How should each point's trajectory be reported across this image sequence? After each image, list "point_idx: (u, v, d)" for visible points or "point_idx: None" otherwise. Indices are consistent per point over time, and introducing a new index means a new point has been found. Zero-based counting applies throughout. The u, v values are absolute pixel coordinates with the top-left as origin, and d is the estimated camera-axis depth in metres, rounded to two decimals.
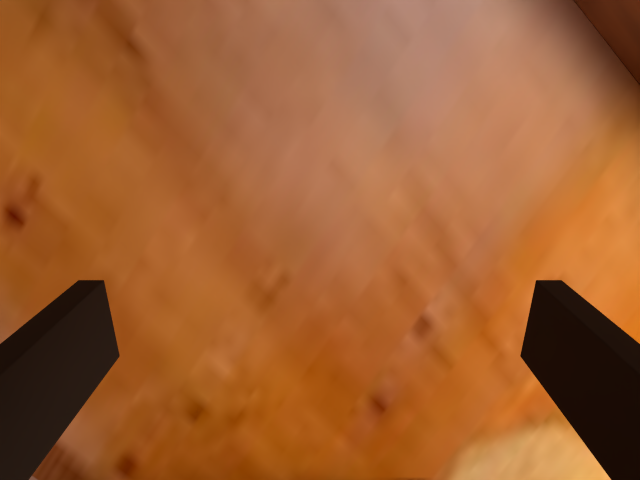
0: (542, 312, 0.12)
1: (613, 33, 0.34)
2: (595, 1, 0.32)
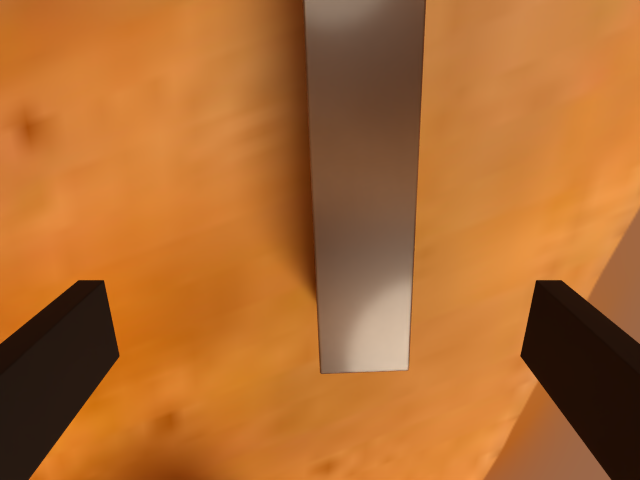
0: (542, 312, 0.12)
1: None
2: None
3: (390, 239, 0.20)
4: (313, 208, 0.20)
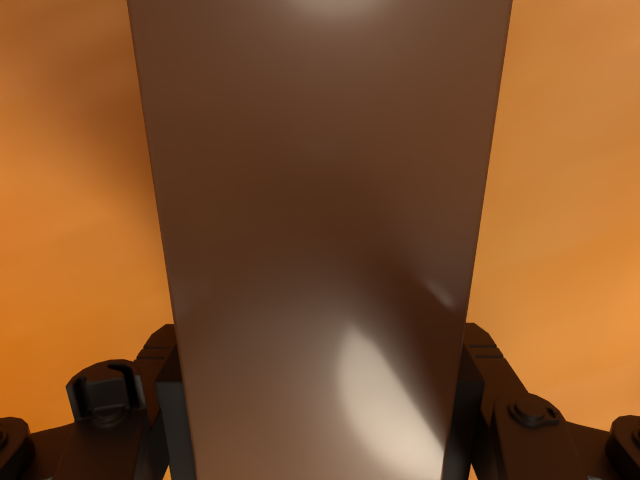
0: None
1: None
2: None
3: (395, 311, 0.07)
4: (159, 212, 0.06)
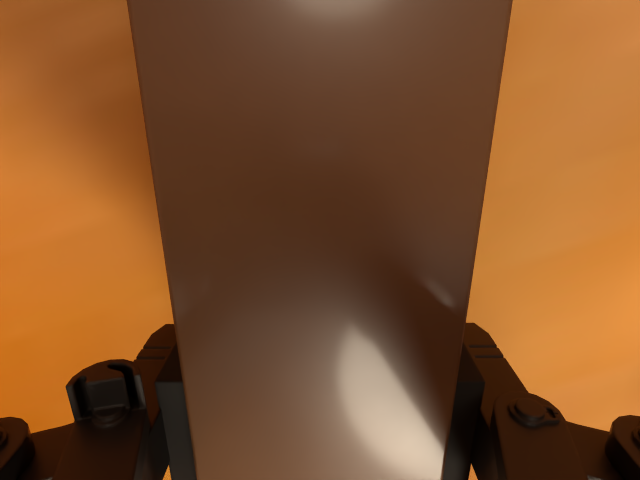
0: None
1: None
2: None
3: (394, 311, 0.07)
4: (159, 212, 0.06)
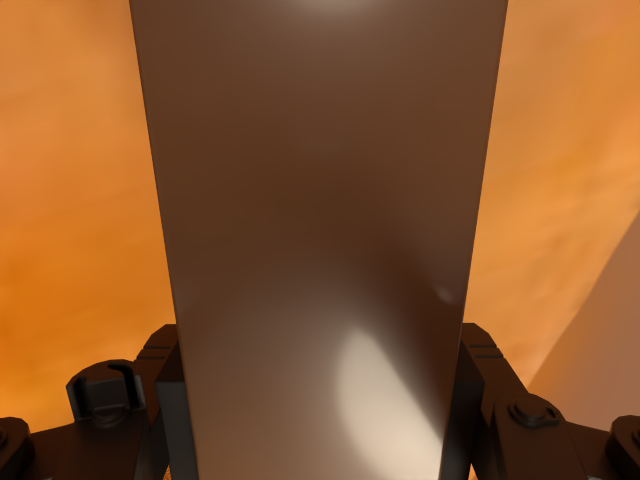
0: None
1: None
2: None
3: (393, 310, 0.07)
4: (161, 212, 0.06)
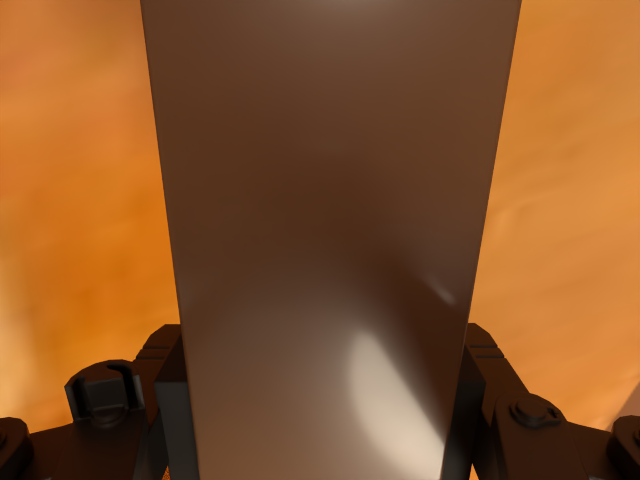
0: None
1: None
2: None
3: (398, 312, 0.07)
4: (168, 210, 0.06)
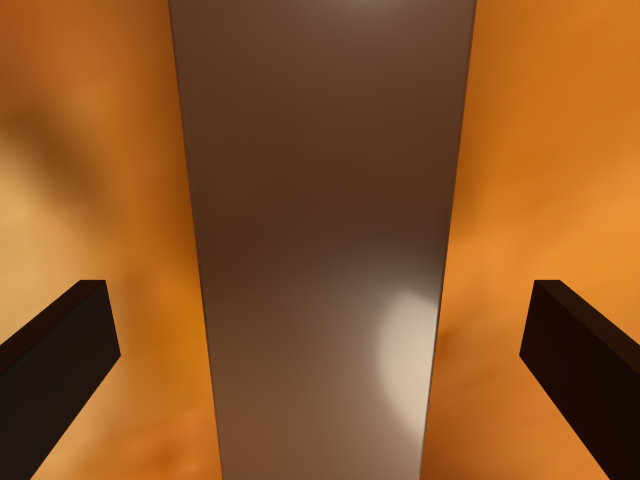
0: (540, 312, 0.12)
1: None
2: None
3: (385, 248, 0.08)
4: (187, 159, 0.07)
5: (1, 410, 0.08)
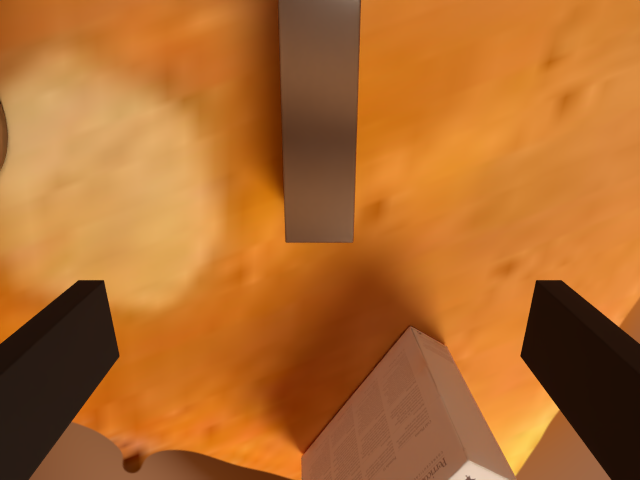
0: (542, 312, 0.12)
1: None
2: None
3: (338, 131, 0.27)
4: (281, 104, 0.27)
5: None
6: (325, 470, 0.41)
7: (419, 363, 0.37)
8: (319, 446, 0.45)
